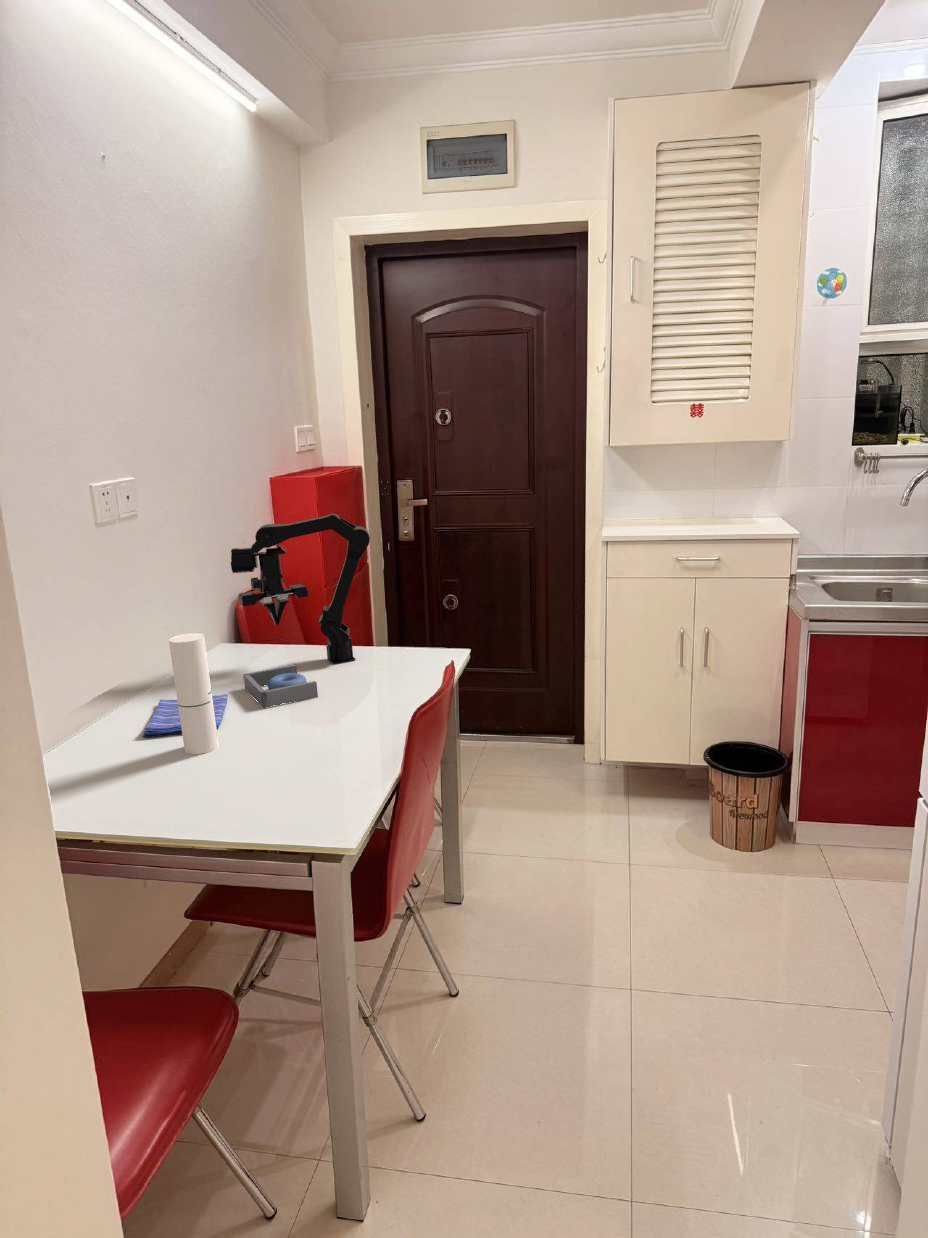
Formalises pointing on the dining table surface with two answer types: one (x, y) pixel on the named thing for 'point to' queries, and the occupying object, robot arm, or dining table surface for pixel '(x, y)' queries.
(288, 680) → the doughnut
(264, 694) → the box
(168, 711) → the dish towel
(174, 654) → the cylindrical container
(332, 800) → the dining table surface
